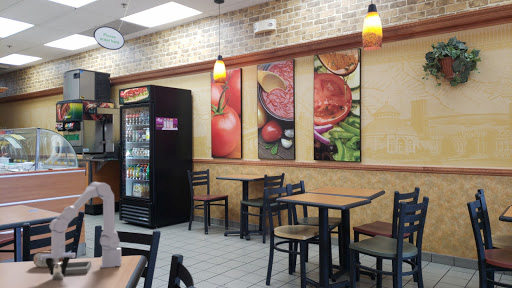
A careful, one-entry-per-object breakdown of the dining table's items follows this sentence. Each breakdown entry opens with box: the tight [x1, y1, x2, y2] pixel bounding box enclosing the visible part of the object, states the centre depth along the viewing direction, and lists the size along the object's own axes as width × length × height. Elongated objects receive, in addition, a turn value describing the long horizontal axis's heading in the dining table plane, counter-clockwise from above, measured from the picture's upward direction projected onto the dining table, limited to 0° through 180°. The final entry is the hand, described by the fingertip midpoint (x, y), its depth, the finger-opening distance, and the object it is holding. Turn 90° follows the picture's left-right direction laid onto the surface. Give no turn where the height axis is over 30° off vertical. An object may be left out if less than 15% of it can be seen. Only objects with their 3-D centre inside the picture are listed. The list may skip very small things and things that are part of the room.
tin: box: [32, 249, 64, 269], centre depth 196 cm, size 15×3×8 cm, turn 84°
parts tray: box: [63, 260, 92, 276], centre depth 191 cm, size 12×12×2 cm
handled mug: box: [52, 262, 64, 281], centre depth 179 cm, size 4×6×7 cm
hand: (57, 273), depth 180 cm, fingers closed on handled mug, 4 cm apart
